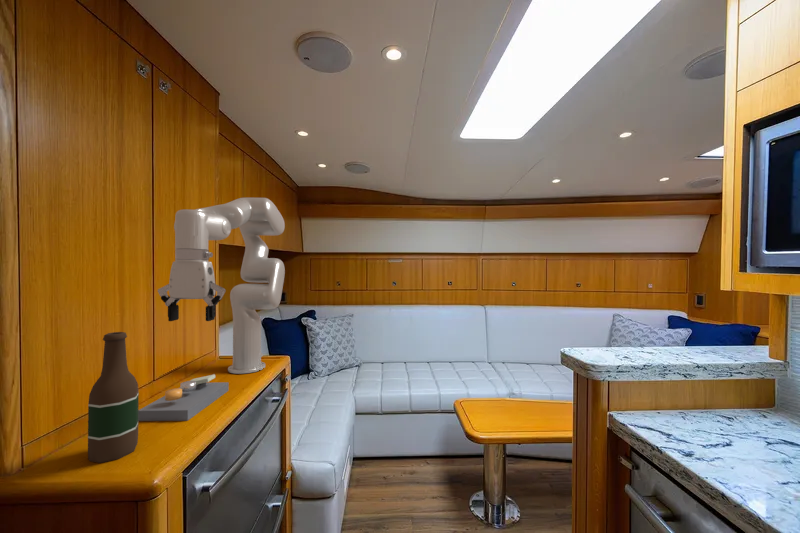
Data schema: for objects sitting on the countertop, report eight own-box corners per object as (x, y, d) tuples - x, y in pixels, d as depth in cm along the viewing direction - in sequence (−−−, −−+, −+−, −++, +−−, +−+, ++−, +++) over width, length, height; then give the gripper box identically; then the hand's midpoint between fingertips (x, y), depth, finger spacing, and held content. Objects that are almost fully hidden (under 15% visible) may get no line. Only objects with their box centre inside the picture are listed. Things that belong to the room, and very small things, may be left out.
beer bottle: (92, 469, 61) (93, 338, 61) (83, 454, 65) (84, 333, 66) (144, 450, 67) (145, 332, 67) (132, 438, 72) (133, 328, 72)
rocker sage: (194, 382, 98) (193, 378, 98) (215, 377, 98) (214, 374, 98) (185, 386, 94) (185, 383, 94) (208, 382, 94) (207, 378, 94)
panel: (188, 390, 100) (188, 379, 100) (228, 390, 100) (228, 379, 100) (137, 421, 80) (137, 406, 80) (187, 420, 80) (187, 406, 80)
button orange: (171, 395, 86) (171, 388, 86) (185, 395, 86) (185, 388, 86) (161, 400, 82) (161, 393, 82) (176, 400, 82) (176, 393, 82)
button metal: (185, 387, 92) (185, 380, 92) (198, 387, 92) (198, 380, 92) (177, 391, 88) (177, 385, 88) (190, 391, 88) (190, 385, 88)
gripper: (231, 257, 92) (231, 318, 92) (168, 257, 92) (168, 318, 92) (217, 256, 85) (217, 322, 85) (148, 256, 84) (148, 322, 84)
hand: (191, 320), depth 88 cm, fingers open, 9 cm apart
